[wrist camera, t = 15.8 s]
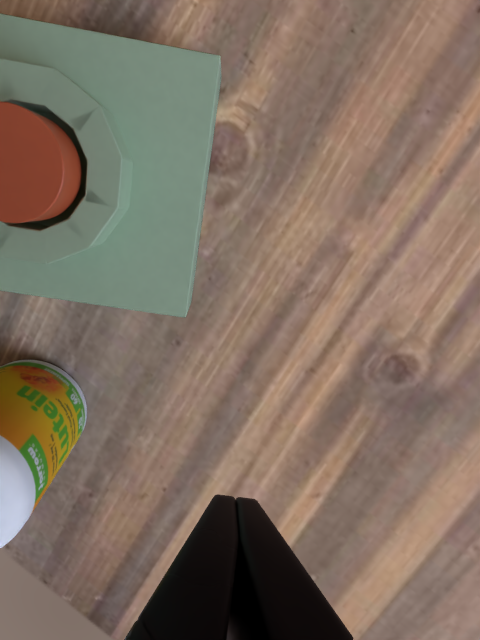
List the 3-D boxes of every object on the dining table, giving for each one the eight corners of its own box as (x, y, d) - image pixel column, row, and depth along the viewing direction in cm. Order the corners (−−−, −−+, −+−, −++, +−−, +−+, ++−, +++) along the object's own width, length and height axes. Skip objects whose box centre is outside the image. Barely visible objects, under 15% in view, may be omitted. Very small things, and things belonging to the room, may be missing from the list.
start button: (78, 228, 16) (60, 231, 14) (-23, 212, 15) (-54, 213, 14) (85, 122, 15) (67, 112, 13) (-23, 103, 14) (-56, 90, 13)
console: (191, 303, 21) (181, 330, 16) (-67, 265, 20) (-148, 283, 16) (221, 76, 18) (220, 36, 14) (-74, 20, 17) (-174, -40, 13)
